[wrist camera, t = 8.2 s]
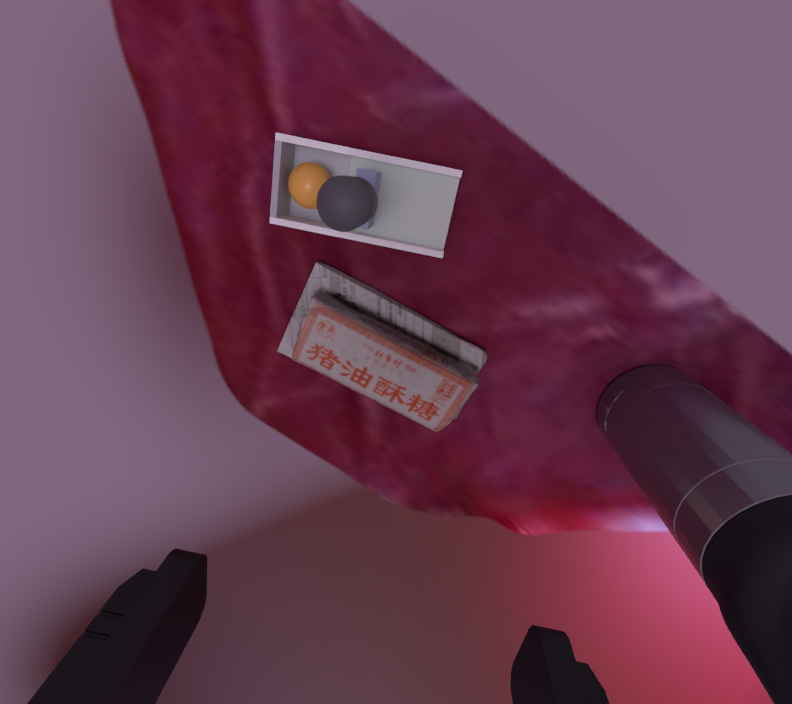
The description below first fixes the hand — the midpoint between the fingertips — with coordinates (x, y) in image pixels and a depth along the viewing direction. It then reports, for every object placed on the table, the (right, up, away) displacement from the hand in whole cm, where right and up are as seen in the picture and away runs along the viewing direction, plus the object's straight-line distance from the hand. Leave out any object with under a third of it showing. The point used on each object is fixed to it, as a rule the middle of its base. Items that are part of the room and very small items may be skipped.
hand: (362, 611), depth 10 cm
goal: (-6, +20, +25) cm, 33 cm away
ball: (-6, +20, +23) cm, 31 cm away
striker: (-1, +18, +23) cm, 29 cm away
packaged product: (0, +7, +31) cm, 31 cm away
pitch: (+1, +19, +25) cm, 31 cm away
